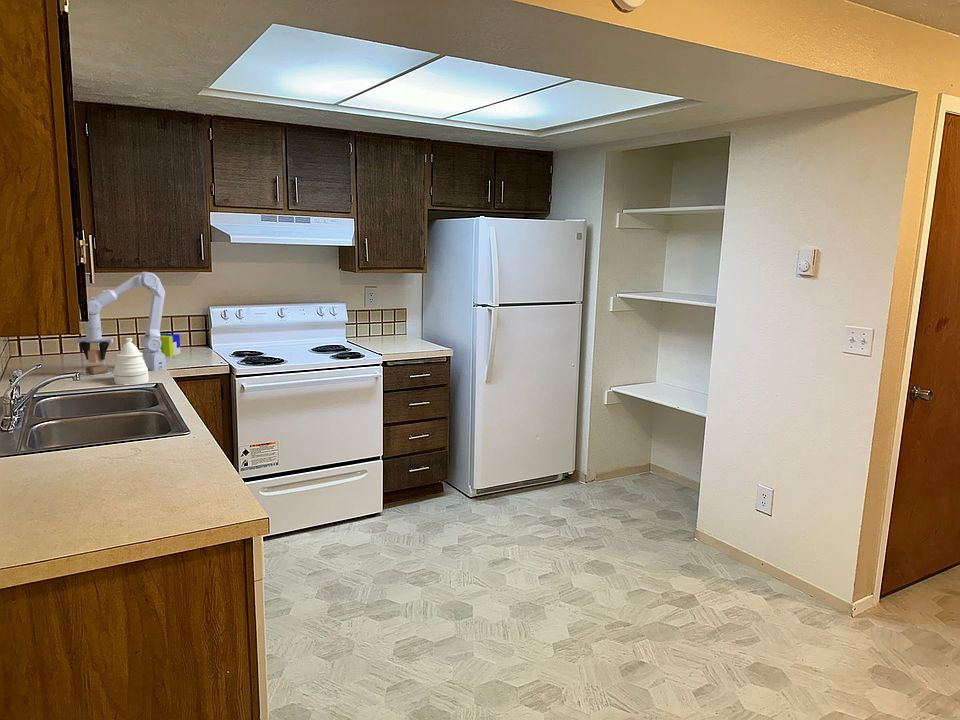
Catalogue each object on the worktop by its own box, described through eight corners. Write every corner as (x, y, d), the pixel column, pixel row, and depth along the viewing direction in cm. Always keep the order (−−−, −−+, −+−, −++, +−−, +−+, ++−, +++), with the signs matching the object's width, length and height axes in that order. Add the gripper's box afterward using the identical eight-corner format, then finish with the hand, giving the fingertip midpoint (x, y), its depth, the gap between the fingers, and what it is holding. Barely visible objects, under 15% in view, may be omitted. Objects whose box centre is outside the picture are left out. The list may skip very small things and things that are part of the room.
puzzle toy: (180, 353, 349) (179, 334, 347) (169, 356, 339) (168, 337, 337) (162, 352, 350) (161, 333, 348) (151, 355, 340) (149, 336, 338)
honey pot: (115, 379, 284) (112, 337, 281) (149, 377, 290) (146, 336, 286) (113, 385, 273) (109, 342, 270) (148, 383, 278) (145, 340, 275)
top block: (103, 361, 291) (102, 349, 290) (96, 362, 287) (95, 351, 286) (95, 360, 292) (94, 349, 291) (88, 362, 288) (87, 350, 287)
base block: (107, 373, 292) (107, 366, 291) (93, 375, 287) (93, 368, 286) (99, 371, 295) (99, 364, 294) (85, 373, 290) (85, 366, 289)
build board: (132, 372, 299) (132, 369, 299) (91, 379, 284) (91, 376, 284) (116, 369, 305) (116, 366, 305) (76, 375, 290) (76, 372, 290)
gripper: (115, 327, 292) (117, 357, 294) (79, 326, 290) (81, 357, 292) (108, 329, 285) (110, 360, 288) (71, 329, 283) (74, 360, 285)
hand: (95, 359), depth 289 cm, fingers closed on top block, 5 cm apart
